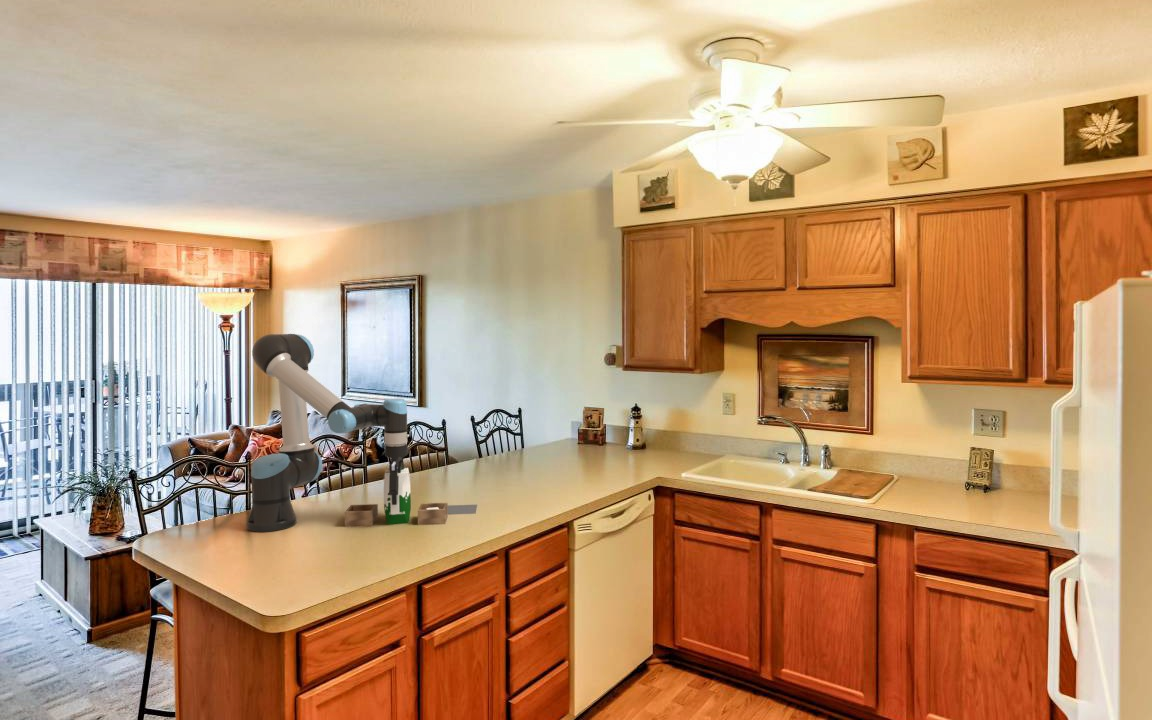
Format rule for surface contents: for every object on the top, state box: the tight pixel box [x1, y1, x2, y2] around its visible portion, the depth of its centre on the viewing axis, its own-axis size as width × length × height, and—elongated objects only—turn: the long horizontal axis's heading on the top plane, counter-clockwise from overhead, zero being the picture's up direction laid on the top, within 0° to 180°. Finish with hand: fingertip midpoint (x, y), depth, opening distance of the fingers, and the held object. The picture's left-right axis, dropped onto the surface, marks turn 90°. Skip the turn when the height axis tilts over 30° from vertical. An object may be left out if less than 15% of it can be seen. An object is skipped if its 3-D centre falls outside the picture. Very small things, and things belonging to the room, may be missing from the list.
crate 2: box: [417, 502, 449, 526], centre depth 224 cm, size 9×9×6 cm
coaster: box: [448, 504, 478, 516], centre depth 238 cm, size 12×12×1 cm
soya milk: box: [383, 467, 412, 526], centre depth 223 cm, size 9×9×20 cm
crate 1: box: [343, 503, 379, 528], centre depth 222 cm, size 9×9×6 cm
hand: (397, 509), depth 224 cm, fingers closed on soya milk, 9 cm apart
